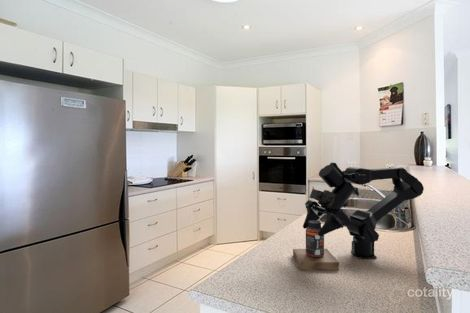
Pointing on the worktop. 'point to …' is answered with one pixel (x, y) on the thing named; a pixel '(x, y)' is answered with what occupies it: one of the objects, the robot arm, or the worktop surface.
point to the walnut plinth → (315, 261)
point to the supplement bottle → (314, 240)
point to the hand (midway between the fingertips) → (310, 231)
